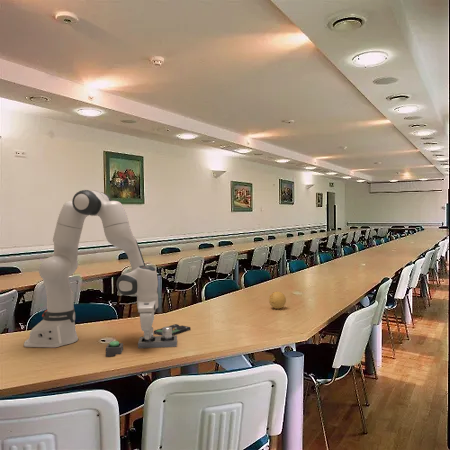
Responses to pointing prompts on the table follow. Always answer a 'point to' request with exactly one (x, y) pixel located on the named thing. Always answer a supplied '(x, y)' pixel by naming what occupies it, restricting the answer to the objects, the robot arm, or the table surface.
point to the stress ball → (277, 300)
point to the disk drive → (174, 330)
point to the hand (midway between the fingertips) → (148, 335)
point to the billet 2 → (167, 333)
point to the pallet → (157, 342)
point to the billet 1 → (150, 336)
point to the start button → (114, 343)
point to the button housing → (114, 350)
